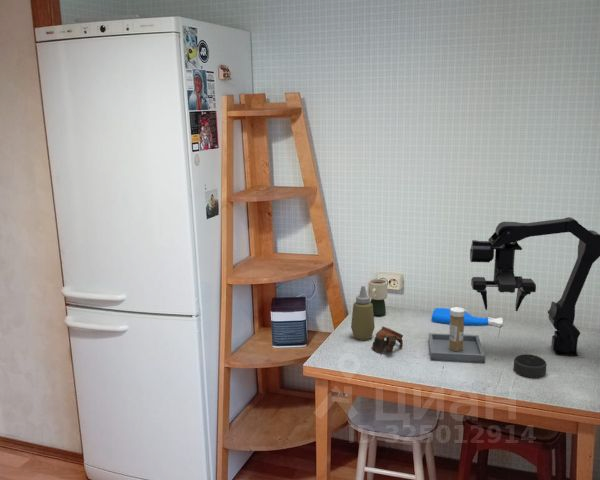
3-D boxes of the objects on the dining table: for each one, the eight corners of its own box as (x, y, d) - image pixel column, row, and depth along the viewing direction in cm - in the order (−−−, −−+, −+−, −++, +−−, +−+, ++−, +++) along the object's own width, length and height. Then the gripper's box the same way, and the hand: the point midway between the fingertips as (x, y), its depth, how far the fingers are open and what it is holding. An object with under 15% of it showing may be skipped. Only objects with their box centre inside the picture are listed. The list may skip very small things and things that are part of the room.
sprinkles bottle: (465, 351, 185) (467, 311, 182) (451, 352, 185) (453, 311, 181) (459, 345, 190) (461, 306, 186) (446, 346, 189) (448, 306, 186)
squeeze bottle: (347, 339, 198) (347, 289, 194) (354, 331, 205) (355, 282, 201) (371, 343, 195) (371, 291, 191) (377, 334, 202) (377, 284, 198)
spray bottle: (431, 316, 211) (503, 324, 203) (434, 306, 221) (503, 313, 213) (430, 323, 212) (502, 332, 204) (434, 313, 222) (502, 321, 214)
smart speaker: (508, 373, 172) (509, 360, 171) (520, 363, 178) (521, 350, 177) (539, 382, 166) (540, 369, 165) (550, 371, 173) (551, 358, 172)
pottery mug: (366, 346, 194) (376, 323, 194) (392, 357, 195) (401, 334, 195) (376, 351, 182) (386, 327, 182) (403, 363, 183) (413, 339, 183)
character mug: (373, 308, 227) (373, 276, 224) (391, 310, 224) (391, 278, 221) (363, 317, 218) (363, 284, 215) (381, 320, 215) (382, 286, 212)
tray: (477, 342, 194) (478, 335, 193) (484, 363, 178) (485, 355, 178) (428, 340, 196) (428, 333, 196) (430, 360, 181) (431, 352, 180)
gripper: (476, 268, 176) (473, 317, 180) (541, 270, 173) (537, 320, 176) (472, 259, 187) (469, 305, 190) (533, 261, 184) (530, 308, 187)
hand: (501, 310), depth 186 cm, fingers open, 9 cm apart
